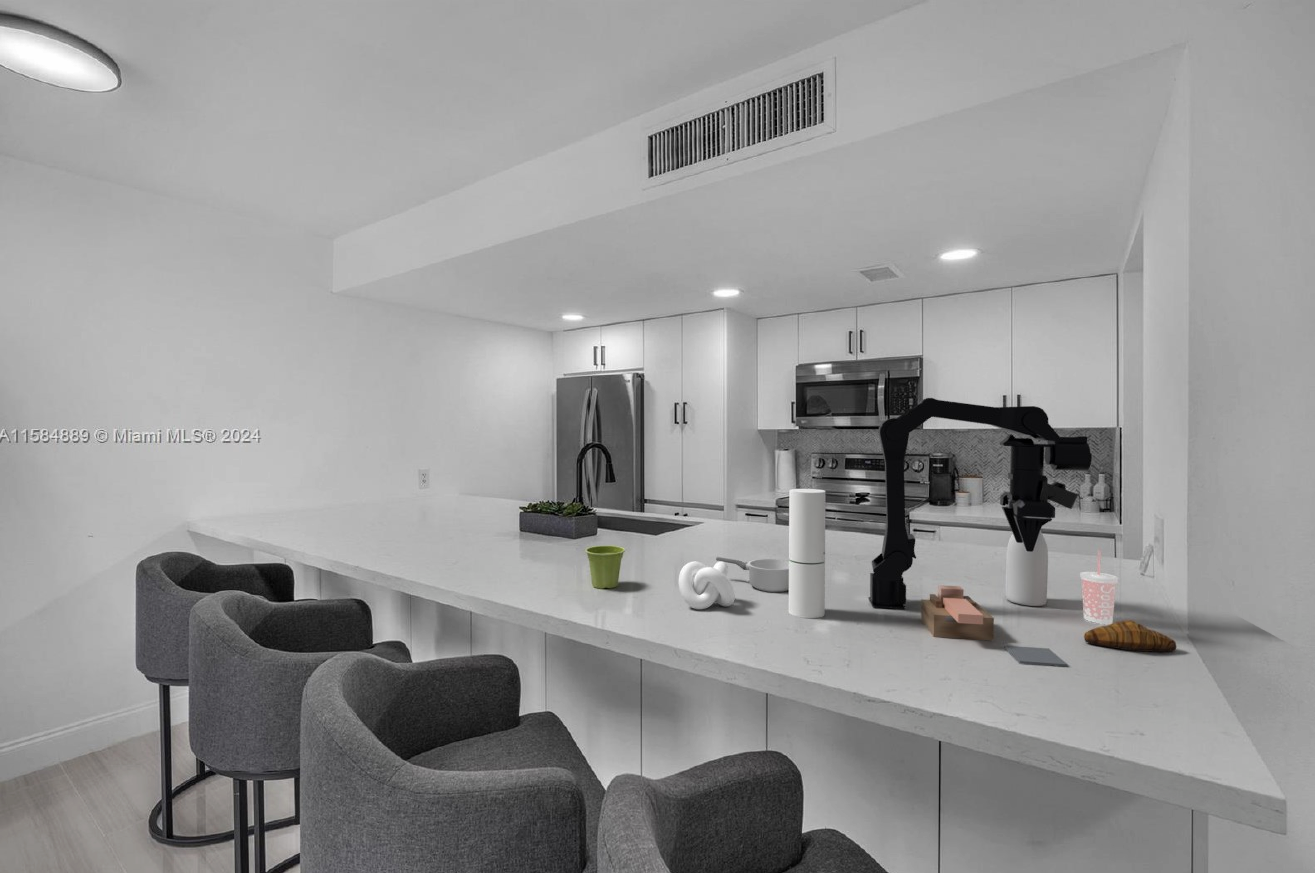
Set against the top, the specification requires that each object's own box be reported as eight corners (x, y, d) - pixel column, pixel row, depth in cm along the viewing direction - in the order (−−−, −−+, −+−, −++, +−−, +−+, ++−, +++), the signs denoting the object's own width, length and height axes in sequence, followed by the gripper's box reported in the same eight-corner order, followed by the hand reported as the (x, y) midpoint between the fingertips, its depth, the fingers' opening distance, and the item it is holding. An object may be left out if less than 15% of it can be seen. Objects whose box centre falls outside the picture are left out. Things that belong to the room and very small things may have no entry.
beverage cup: (1084, 623, 119) (1085, 551, 118) (1075, 614, 124) (1076, 545, 124) (1122, 627, 116) (1123, 554, 116) (1111, 617, 122) (1112, 547, 122)
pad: (1019, 663, 99) (1019, 660, 99) (1003, 647, 106) (1003, 645, 106) (1067, 666, 98) (1067, 664, 98) (1048, 650, 104) (1048, 648, 104)
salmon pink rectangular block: (958, 622, 107) (958, 613, 107) (942, 606, 116) (942, 597, 116) (983, 624, 106) (983, 615, 106) (965, 607, 116) (965, 598, 116)
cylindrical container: (827, 610, 127) (828, 489, 126) (821, 620, 120) (822, 493, 120) (792, 605, 130) (793, 488, 129) (785, 615, 123) (785, 491, 123)
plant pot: (632, 584, 147) (632, 548, 147) (609, 593, 139) (609, 555, 139) (601, 578, 152) (601, 543, 152) (577, 587, 144) (577, 550, 144)
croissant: (1092, 651, 105) (1093, 622, 105) (1076, 638, 111) (1077, 610, 111) (1187, 659, 101) (1187, 629, 101) (1165, 645, 108) (1165, 617, 107)
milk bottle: (1052, 608, 128) (1056, 513, 128) (1012, 605, 130) (1015, 511, 129) (1038, 598, 136) (1041, 508, 135) (999, 595, 137) (1003, 506, 137)
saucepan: (726, 574, 157) (726, 553, 157) (803, 585, 147) (803, 562, 147) (707, 584, 147) (707, 561, 147) (788, 596, 137) (788, 572, 137)
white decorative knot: (685, 616, 123) (686, 571, 123) (672, 599, 135) (672, 558, 135) (739, 612, 125) (739, 568, 125) (721, 596, 137) (721, 556, 137)
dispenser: (934, 637, 111) (934, 598, 111) (921, 619, 121) (921, 584, 121) (994, 641, 109) (994, 602, 109) (975, 622, 119) (976, 586, 119)
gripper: (1089, 474, 111) (1086, 560, 111) (1060, 467, 128) (1058, 541, 129) (1018, 472, 115) (1016, 554, 115) (1000, 465, 132) (998, 537, 133)
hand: (1024, 546), depth 123 cm, fingers open, 9 cm apart
